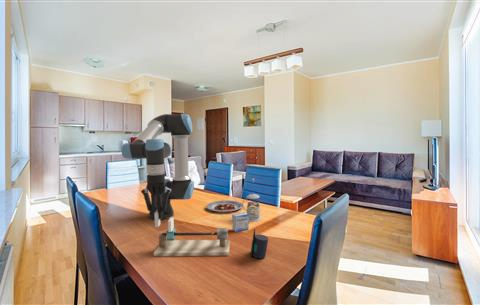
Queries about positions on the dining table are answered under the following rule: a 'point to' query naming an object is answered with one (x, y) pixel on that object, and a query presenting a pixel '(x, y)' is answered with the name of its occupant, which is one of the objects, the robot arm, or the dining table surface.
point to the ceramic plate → (224, 206)
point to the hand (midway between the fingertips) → (157, 225)
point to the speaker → (259, 246)
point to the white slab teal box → (171, 230)
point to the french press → (251, 215)
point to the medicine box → (240, 222)
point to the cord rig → (194, 245)
